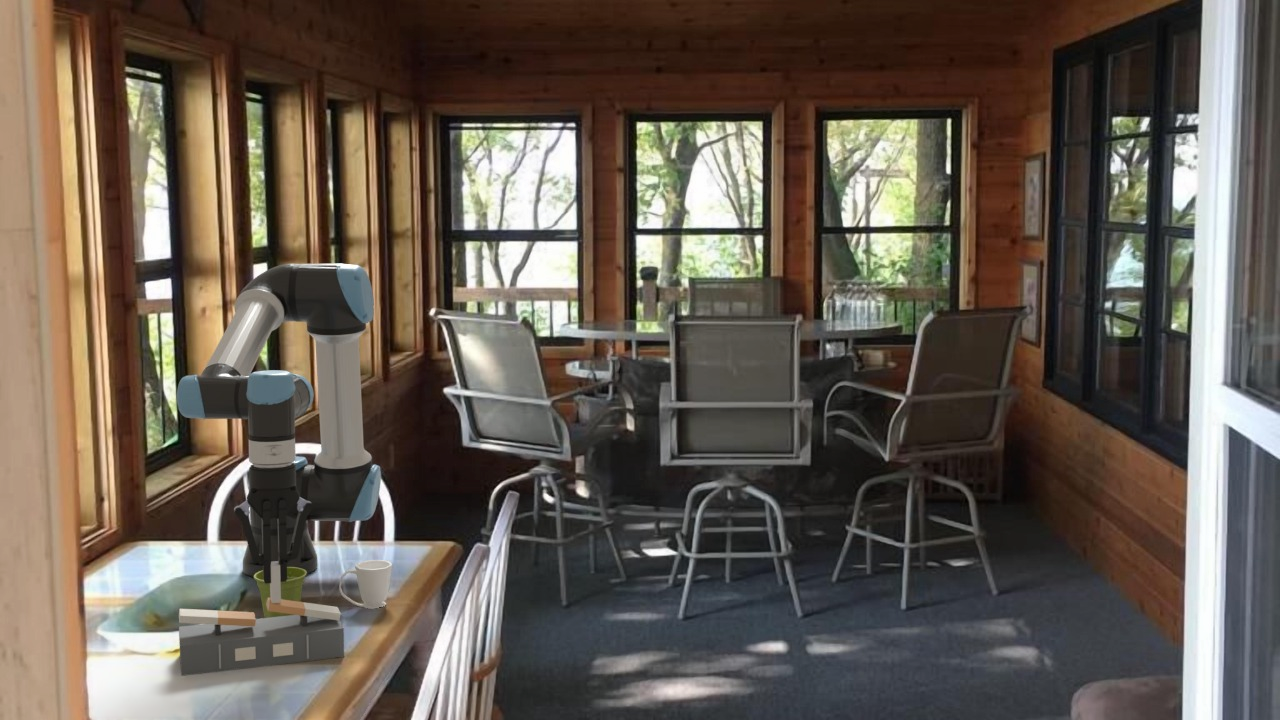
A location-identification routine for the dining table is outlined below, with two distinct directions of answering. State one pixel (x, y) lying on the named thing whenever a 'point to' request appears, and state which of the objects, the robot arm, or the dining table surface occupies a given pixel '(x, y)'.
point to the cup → (371, 582)
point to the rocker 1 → (217, 617)
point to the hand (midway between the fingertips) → (275, 600)
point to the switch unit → (259, 643)
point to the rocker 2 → (304, 609)
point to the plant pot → (282, 589)
